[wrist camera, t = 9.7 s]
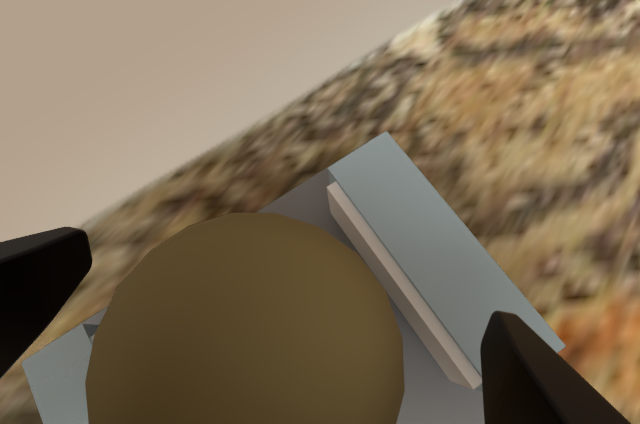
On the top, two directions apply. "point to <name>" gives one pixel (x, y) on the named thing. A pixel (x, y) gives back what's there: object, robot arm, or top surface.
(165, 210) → the top surface
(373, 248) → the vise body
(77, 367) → the vise jaw
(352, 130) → the top surface
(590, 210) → the top surface
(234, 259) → the cork
